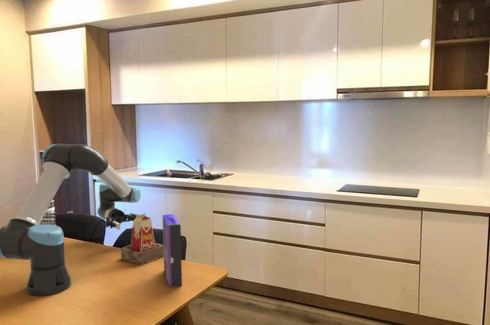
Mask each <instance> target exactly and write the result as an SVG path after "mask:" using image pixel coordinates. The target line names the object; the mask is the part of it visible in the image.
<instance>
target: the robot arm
mask: <svg viewBox="0 0 490 325" xmlns="http://www.w3.org/2000/svg"><path fill="white" fill-rule="evenodd" d="M41 157H42V159H41V164H42V169H43V172H42V173H41V175H40V176H39V178H38V179H37V182H36V184H35V185H34V186H33V188H32V190H31V192H30V194H29V195H28V197H27V199H26V200H25V202H24V204H23V205H22V208H21V209H20V211H19V212H18V214H17V216H16V217H11V219H10V220H9V222H8V223H7V225H6V226H4V225H3V226H1V227H0V258H5V259H8V260H11V259H12V260H13V259H14V260H24V261H25V260H26V261H29V262H30V273H29V276H28V278H27V283H26V293H27V294H29V295H31V296H38V297H39V296H40V297H41V296H50V295H54V294H58V293H61V292H63V291H66V290H67V289H68V288H70V287H71V285H72V278H71V275H70V273H69V271H68V268H67V266H66V261H65V260H66V258H65V255H66V254H65V236H64V231H63V229H62V227H61V226H58V225H57V224H56V225H50V224H46V225H43V224H40V222H41V220H42V218H43V217H44V215H45V213H46V211H47V209H48V207H49V205H50V203H51V202H52V200H53V199H54V197H55V195H56V194H57V192H58V190H59V188H60V186H61V184H62V183H63V181H64V180H65V179H68V178H70V176H71V174H72V172H74V171H76V172H77V171H83V172H87V173H89V174H90V175H92V176H95V177H97V178H98V179H99V180H101V182H102V183H100V184H99V185H98V186H99V187H98V188H99V189H98V190H99V191H98V196H99V206H98V208H97V210H96V211H97V215H98V216H99V217H100V219H103V220H105V228H110V229H113V228H115V229H117V230H118V231H119V230H121V224H122V223H127V222H128V223H129V222H133V221H134V220H135V218H136V217H137V216H136V213H131V212H130V213H129V214H128V213H127V214H125V212H124V211H123V210H120V209H118V208H116V207H115V204H116V202H117V203H129V204H133V203H138V202H140V201H141V196H142V193H141V190H140V189H139V188H135V187H131V186H130V184H129V183H127V181H126V180H125V179H124V178H123V177H122V176H121V174H119V173H118V172H117V171H116V170H115V169H114V168H113V167H112V166H111V165H110V164H109V160H108V159H107V158H106V157H105V156H104V155H103V154H102V153H101V152H100V151H98V150H96V149H95V148H93V147H91V146H89V145H86V144H83V143H82V144H81V143H78V144H75V143H73V144H71V143H70V144H69V143H55V144H50V145H49V146H47V147H46V148H45V149H44V150H43V152H42V155H41ZM137 215H139V214H137ZM39 224H40V225H39Z"/></svg>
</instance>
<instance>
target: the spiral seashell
mask: <svg viewBox="0 0 490 325" xmlns="http://www.w3.org/2000/svg"><path fill="white" fill-rule="evenodd" d="M54 202H55V200H52V202H51V203H50V205H49V207H48V209H47V211H46V213H45V215H44V217H43V218H42V220H41V222H40V224H43V225H46V224H50V225H56V226H57V223H56V221H57V219H55V218H56V217H57V215H56V214H57V212H55V211H56V208H55V204H54ZM40 224H39V225H40Z"/></svg>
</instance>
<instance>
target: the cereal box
mask: <svg viewBox="0 0 490 325" xmlns="http://www.w3.org/2000/svg"><path fill="white" fill-rule="evenodd" d="M181 234H182V231H181V223H180V221H179V220H178V219H177V217H176V215H175V214H171V213H169V214H162V238H163V239H162V242H163V243H162V245H163V246H164V256H163V271H165V272H164V274H166V275H165V278H166V277H167V278H166V280H167V284H169V285H168V287H169V288H173V286H175V287H182V286H183V276H182V275H183V272H182V269H183V268H182V237H181V236H182V235H181Z"/></svg>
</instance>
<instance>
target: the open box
mask: <svg viewBox="0 0 490 325" xmlns="http://www.w3.org/2000/svg"><path fill="white" fill-rule="evenodd" d="M155 245H156V248H153V249H151V250H148V251H145V252H142V253H141V252H137V251H133V250H131V244H129V245H126V246H123V247H121V248H120V254H121V255H120V257H121V260H124V259H125V261H127V260H129V261H128V262H131V261H132V262H131V263H134V262H137V263H136V264H138V263H140V264H139V265H141V264H142V265H144V264H143V263H145V262H147V263H149V262H148V261H150V260H152V259H155V258H157V257H160V258H162V257H163V258H164V246H163V244H160V243H156V242H155ZM155 260H156V259H155ZM150 262H151V261H150ZM145 264H146V263H145Z"/></svg>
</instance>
